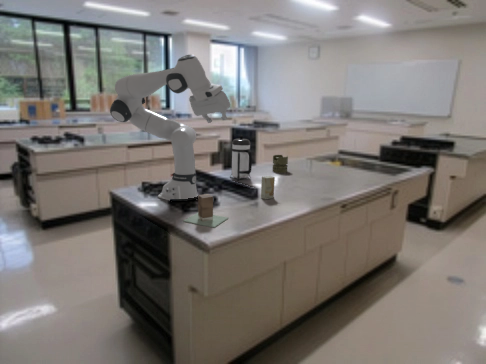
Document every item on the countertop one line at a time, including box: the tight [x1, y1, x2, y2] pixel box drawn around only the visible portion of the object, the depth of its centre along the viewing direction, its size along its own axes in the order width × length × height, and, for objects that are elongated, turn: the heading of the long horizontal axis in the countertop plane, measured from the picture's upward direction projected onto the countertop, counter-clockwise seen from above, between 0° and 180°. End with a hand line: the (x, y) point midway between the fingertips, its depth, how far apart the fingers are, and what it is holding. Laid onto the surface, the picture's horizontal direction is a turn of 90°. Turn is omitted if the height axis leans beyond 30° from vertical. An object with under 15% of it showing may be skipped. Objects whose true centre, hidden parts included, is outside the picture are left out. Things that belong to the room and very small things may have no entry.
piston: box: [271, 154, 289, 174], centre depth 262 cm, size 11×12×11 cm
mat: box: [183, 212, 229, 228], centre depth 156 cm, size 16×13×1 cm
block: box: [197, 193, 214, 222], centre depth 154 cm, size 5×5×11 cm
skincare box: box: [260, 175, 276, 200], centre depth 191 cm, size 6×4×12 cm
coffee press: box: [229, 134, 253, 182], centre depth 233 cm, size 17×16×30 cm
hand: (217, 120), depth 152 cm, fingers open, 8 cm apart
